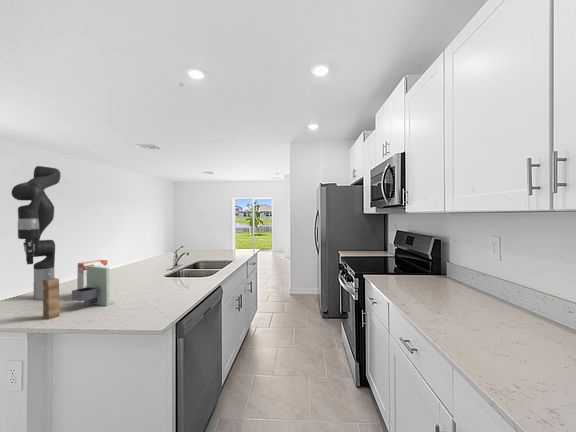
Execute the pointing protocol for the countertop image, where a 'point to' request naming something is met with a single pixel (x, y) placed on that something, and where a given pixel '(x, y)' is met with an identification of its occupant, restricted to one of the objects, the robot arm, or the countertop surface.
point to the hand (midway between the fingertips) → (29, 262)
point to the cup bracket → (95, 287)
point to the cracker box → (83, 271)
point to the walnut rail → (50, 298)
